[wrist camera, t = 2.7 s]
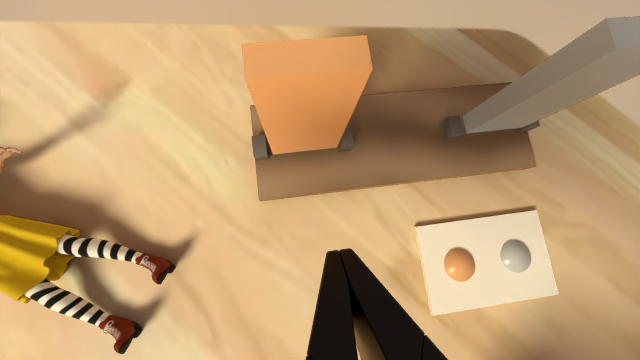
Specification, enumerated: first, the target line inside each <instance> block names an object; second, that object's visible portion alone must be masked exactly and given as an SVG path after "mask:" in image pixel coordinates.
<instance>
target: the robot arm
mask: <svg viewBox="0 0 640 360" xmlns="http://www.w3.org/2000/svg"><path fill="white" fill-rule="evenodd" d="M356 344H357V348H358V351H359V354H360V357H361V360H448V359H447V358H446V357H445V356H444V355H443V353H442V352H441V351H440V350H439V349H438V348H437V347H436V346H435V345H434V343H433V342H432V341H431V340H430V339H429V338H428V336H427V335H425V336H424V332H423V331H422V330H421V329H420V327H419V326H418V325H417V324H416V323H415V322H414V320H413V319H412V318H411V317H410V316H409V315H408V313H407V312H406V311H405V310H404V309H403V308H402V307H401V305H400V304H399V303H398V302H397V301H396V300H395V298H394V297H393V296H392V295H391V294H390V293H389V292H388V290H387V289H386V288H385V287H384V286H383V285H382V283H381V282H380V281H379V280H378V279H377V278H376V277H375V275H374V274H373V273H372V272H371V271H370V270H369V268H368V267H367V266H366V265H365V264H364V263H363V262H362V260H361V259H360V258H359V257H358V256H357V255H356V253H355V252H354V251H353V250H352V249H350V248H348V249H341V250H340V251H338V250H334V251H328V252H327V253H326V258H325V263H324V269H323V274H322V279H321V284H320V289H319V294H318V299H317V304H316V310H315V315H314V320H313V325H312V330H311V335H310V340H309V345H308V351H307V356H306V360H358V356H357V348H356Z"/></svg>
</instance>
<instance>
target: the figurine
mask: <svg viewBox="0 0 640 360" xmlns="http://www.w3.org/2000/svg"><path fill="white" fill-rule="evenodd" d="M15 152H18V153H22V151H20V150H17V148H11V147H8V148H3V147H0V173H1V171H2V169H3V165H4V160H5V159H6V158H8V157H10V156H12V155H13V154H14V153H15ZM79 235H80V231H79V230H77V229H73V228H69V227H65V226H60V225H55V224H50V223H45V222H40V221H35V220H29V219H25V218H18V217H14V216H10V215H0V291H2V292H3V293H5V294H6V295H8V296H10V297H11V298H13V299H14V300H16V301H18V300H19V301H21V302H23V303H28V302H29V301H30V300H31V299H33V300H35V301H37V302H39V303H40V304H42V305H43V306H45V307H47V308H49V309H51V310H53V311H56V312H59V313H61V314H64V315H67V316H70V317H73V318H77V319H80V320H83V321H86V322H89V323H92V324H94V325H97V326H99V327H100V329H102V330H103V332H104V331H106V332H107V333H109V334H111V335H112V336H113V337H114V338H115V339H116V343H115V345H114V350H115V351H116V352H117V353H120V354H124V353H125V352H126V350H127V348H128V347H129V345H130V343H131V341H132V339H133V338H137V337H138V336H139V335H140V333H141V331H142V328H141V327H140V326H139V325H138V324H137V323H135V322H133V321H130V320H126V319H122V318H119V317H115V316H112V315H108V314H107V313H105V312H103V311H102V310H100V309H99V308H97V307H96V306H94V305H93V304H91V303H89V302H88V301H86V300H84V299H83V298H81V297H79V296H77V295H75V294H73V293H71V292H68V291H65V290H63V289H61V288H59V287H57V286H56V285H54V284H52V283H51V282H50V281H56V280H59V278H60V277H61V276H62V275H63V273H64V271H65V270H66V268H67V266H66V265H67V263H68V261H69V260H71V259H72V258H74V257H97V258H109V259H118V260H124V261H131V262H136V264H138V265H141V266H143V267H142V268H144V267H145V268H147V269H149V270H150V271H151V272H152V273H153V274H152V279H153V281H154V282H155V283H157V284H161V283H162V282H163V280H164V279H165V277H166V275H167V273H172V272H173V270H174V269H175V266H174V265H173V264H172V263H171V262H170V261H168V260H165V259H163V258H159V257H155V256H152V255H149V254H146V253H143V254H142V253H140V252H137V251H135V250H132V249H129V248H127V247H124V246H122V245H119V244H116V243H113V242H110V241H106V240H101V239H96V238H79ZM141 266H140V267H141ZM104 333H105V332H104Z"/></svg>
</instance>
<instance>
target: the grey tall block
mask: <svg viewBox="0 0 640 360" xmlns="http://www.w3.org/2000/svg"><path fill="white" fill-rule="evenodd" d="M638 75H640V16H634V17H620V18H606V19H605V20H603V21H602V22H600V23H599V24H597V25H596V26H594V27H593V28H591V29H590V30H588V31H587V32H585V33H584V34H582V35H581V36H580V37H578V38H577V39H575V40H574V41H572V42H571V43H570V44H568V45H566V46H565V47H563V48H562V49H560V50H559V51H558V52H556V53H555V54H553V55H552V56H550V57H549V58H547V59H546V60H544V61H543V62H541V63H540V64H539V65H537V66H536V67H534V68H533V69H531V70H530V71H528V72H527V73H525V74H524V75H522V76H521V77H519V78H518V79H517V80H515V81H514V82H512V83H511V84H509V85H508V86H506V87H505V88H503V89H502V90H500V91H499V92H498V93H496V94H495V95H493V96H492V97H490V98H489V99H487V100H486V101H484V102H483V103H481V104H480V105H479V106H477V107H476V108H474V109H473V110H471V111H470V112H468V113H467V114H465V115H464V116H462V117H463V121H464V126H465V130H466V134H467V133H476V132H486V131H495V130H505V129H514V128H522V127H525V126H527V125H529V124H531V123H533V122H536V121H538V120H540V119H542V118H545V117H547V116H549V115H551V114H553V113H556V112H558V111H560V110H562V109H565V108H567V107H569V106H571V105H573V104H576V103H578V102H580V101H582V100H585V99H587V98H589V97H591V96H593V95H596V94H598V93H600V92H602V91H604V90H607V89H609V88H611V87H613V86H616V85H618V84H620V83H622V82H625V81H627V80H629V79H631V78H634V77H636V76H638Z"/></svg>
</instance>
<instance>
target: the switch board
mask: <svg viewBox="0 0 640 360" xmlns="http://www.w3.org/2000/svg"><path fill="white" fill-rule="evenodd" d="M511 83H512V82H509V83H498V84H486V85H475V86H464V87H453V88H442V89H430V90H419V91H408V92H397V93H385V94H374V95H363V96H360V98H359V100H358V102H357V104H356V107H355V109H354V111H353V113H352V115H351V117H350V120H349V122H348V124H347V126H346V128H345V131H344V133H343V135H342V137H341V139H340V142H339V144H338V146H337V148H329V149H320V150H310V151H301V152H292V153H282V154H273V153H272V150H271V148H270V145H269V142H268V140H267V137H266V134H265V132H264V129H263V126H262V124H261V121H260V118H259V116H258V113H257V110H256V108H255V105H251V106H250V110H251V120H252V131H253V136H252V144H253V155H254V158H255V163H256V174H257V184H258V195H259V200H260V201H266V200H275V199H283V198H291V197H299V196H307V195H316V194H324V193H332V192H340V191H348V190H357V189H365V188H373V187H381V186H390V185H398V184H406V183H414V182H422V181H431V180H439V179H447V178H455V177H463V176H472V175H480V174H488V173H496V172H504V171H513V170H521V169H528V168H532V167H536V162H535V159H534V155H533V151H532V147H531V144H530V140H529V136H528V132H527V131H529V130H531V129H534V128H536V127H538V126H540V124H539V121H536V122H533V123H531V124H529V125H527V126H525V127H522V128H514V129H505V130H495V131H486V132H476V133H467V134H466V130H465V126H464V121H463V117H462V116H464V115H465V114H467V113H468V112H470V111H471V110H473V109H474V108H476V107H477V106H479V105H480V104H481V103H483V102H484V101H486V100H487V99H489V98H490V97H492V96H493V95H495V94H496V93H498V92H499V91H500V90H502V89H503V88H505V87H506V86H508V85H509V84H511Z"/></svg>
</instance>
